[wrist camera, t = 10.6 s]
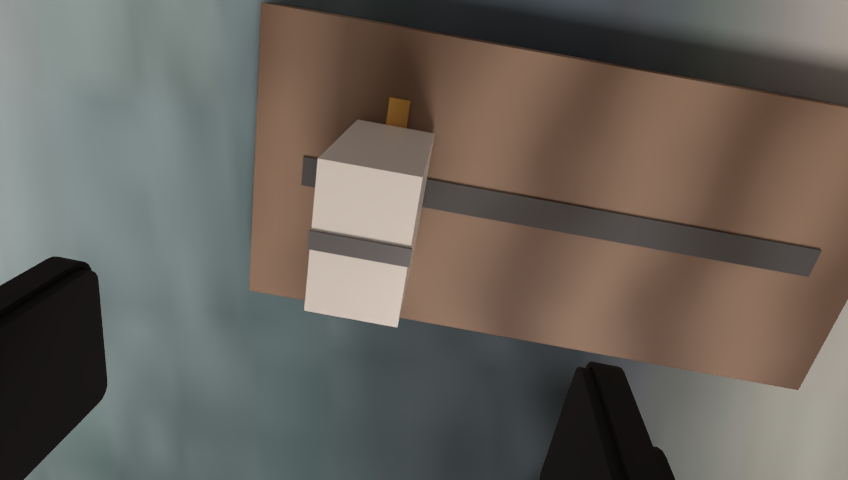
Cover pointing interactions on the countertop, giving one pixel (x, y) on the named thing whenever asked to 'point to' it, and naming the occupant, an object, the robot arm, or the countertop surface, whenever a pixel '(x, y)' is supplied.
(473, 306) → the console board
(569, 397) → the robot arm
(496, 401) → the countertop surface
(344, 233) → the fader knob
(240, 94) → the countertop surface
